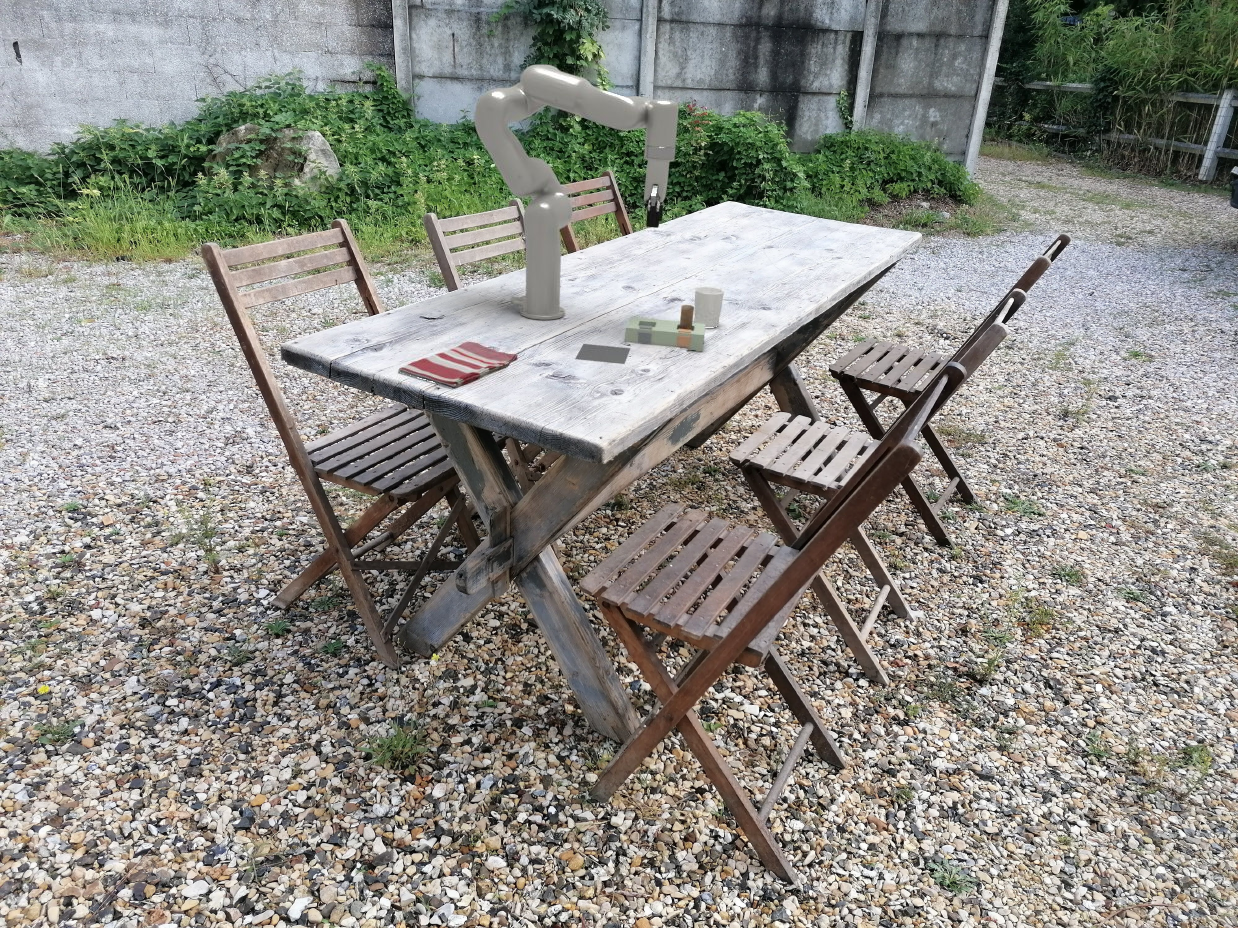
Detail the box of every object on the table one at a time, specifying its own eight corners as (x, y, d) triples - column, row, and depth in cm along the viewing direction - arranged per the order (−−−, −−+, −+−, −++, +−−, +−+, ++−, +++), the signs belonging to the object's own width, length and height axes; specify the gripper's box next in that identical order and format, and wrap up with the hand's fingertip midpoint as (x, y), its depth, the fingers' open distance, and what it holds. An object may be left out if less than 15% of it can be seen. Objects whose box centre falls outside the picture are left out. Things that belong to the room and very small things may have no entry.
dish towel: (520, 364, 199) (520, 353, 198) (454, 392, 181) (453, 380, 180) (465, 349, 207) (465, 338, 206) (396, 374, 189) (396, 363, 187)
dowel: (677, 345, 217) (681, 308, 213) (678, 341, 220) (681, 304, 215) (689, 346, 217) (693, 309, 212) (690, 342, 220) (694, 305, 215)
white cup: (697, 330, 230) (701, 294, 226) (688, 321, 237) (691, 286, 233) (724, 329, 232) (728, 294, 228) (713, 321, 239) (717, 286, 235)
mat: (574, 362, 201) (575, 359, 201) (583, 346, 212) (583, 343, 211) (624, 367, 200) (624, 363, 200) (630, 351, 211) (630, 348, 210)
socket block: (624, 344, 215) (625, 326, 213) (629, 333, 224) (630, 315, 222) (702, 352, 213) (704, 334, 211) (703, 340, 222) (705, 322, 220)
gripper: (648, 149, 216) (643, 217, 224) (640, 156, 201) (635, 228, 208) (677, 151, 215) (671, 219, 223) (671, 158, 200) (665, 231, 208)
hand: (654, 223), depth 216 cm, fingers open, 9 cm apart
